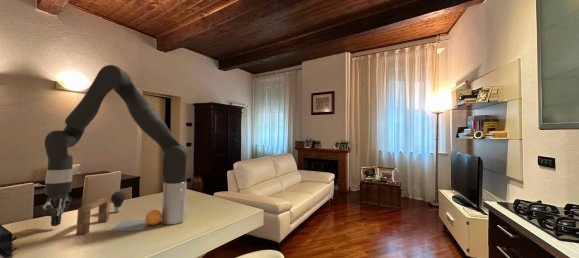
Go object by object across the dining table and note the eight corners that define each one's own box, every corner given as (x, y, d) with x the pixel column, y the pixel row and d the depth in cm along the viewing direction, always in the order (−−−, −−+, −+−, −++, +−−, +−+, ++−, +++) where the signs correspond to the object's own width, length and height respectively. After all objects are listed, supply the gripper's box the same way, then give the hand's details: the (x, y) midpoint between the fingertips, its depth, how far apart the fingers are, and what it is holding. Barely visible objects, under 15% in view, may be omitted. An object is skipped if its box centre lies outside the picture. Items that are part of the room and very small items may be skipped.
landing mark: (153, 219, 102) (153, 219, 102) (142, 230, 90) (142, 229, 90) (123, 221, 99) (123, 220, 99) (107, 231, 87) (107, 231, 87)
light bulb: (116, 214, 108) (118, 193, 108) (107, 213, 109) (108, 192, 109) (127, 210, 113) (128, 190, 114) (118, 210, 114) (119, 189, 115)
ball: (164, 220, 100) (162, 206, 100) (159, 225, 94) (158, 211, 94) (149, 223, 98) (147, 209, 98) (144, 228, 92) (142, 214, 93)
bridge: (108, 220, 99) (110, 198, 100) (85, 234, 85) (87, 208, 85) (100, 221, 99) (102, 198, 99) (76, 235, 84) (78, 208, 84)
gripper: (57, 183, 84) (53, 231, 83) (81, 178, 97) (78, 219, 96) (32, 184, 83) (28, 232, 82) (60, 178, 96) (57, 220, 95)
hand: (55, 225), depth 89 cm, fingers closed
